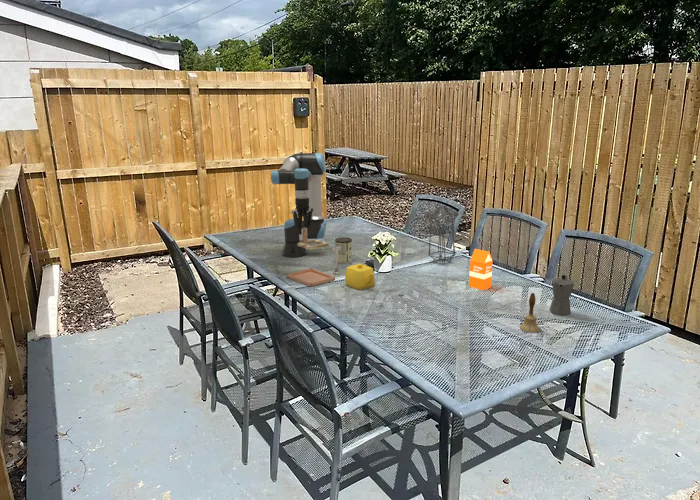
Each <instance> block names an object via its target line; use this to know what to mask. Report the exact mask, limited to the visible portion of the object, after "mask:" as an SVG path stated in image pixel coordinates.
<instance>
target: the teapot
mask: <svg viewBox="0 0 700 500" xmlns="http://www.w3.org/2000/svg"><path fill="white" fill-rule="evenodd" d="M344 277H345V278H344V280H345V285H347V286H348V287H350V288H352V289H355V290H359V291H361V290H365V289H369V288H372V287H374V286H375V284H376V278H375V272H374V268H373V267H371V266H370V265H369V266H368V265H366V264H363V263H357V264H353V265H352V264H351V265H348V266H347V267H346V270H345V276H344Z"/></svg>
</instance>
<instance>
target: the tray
mask: <svg viewBox="0 0 700 500" xmlns="http://www.w3.org/2000/svg"><path fill="white" fill-rule="evenodd" d="M287 278H288V279H290V280H292V281H295V282H297V283H300V284H302V285H304V286H307V285H308V287H310V288H311V287H312V288H313V287H315V286H319V285H323V284H327V283H330V282H333V281H335V280H336V277H335V276H334V275H331V274H328V273H326V272H323V271H319V270H317V269H314V268H312V267H311V268H307V269H303V270H298V271H296V272H295V271H294V272H291V273H287Z"/></svg>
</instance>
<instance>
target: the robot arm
mask: <svg viewBox="0 0 700 500" xmlns="http://www.w3.org/2000/svg"><path fill="white" fill-rule="evenodd" d="M326 171H327V170H326V162H325V156H324V154H323V153H322V152H320V153H318V152H309V153H306V152H297V153H295V154H291V155H289V156H288V157H286V158H285V159H284V161H283V165H282V166H281V167H280V168H279V170H277V169H276V170H271V173H270V181H271V183H272V184H273V185H294V197H295V198H294V201H295V209H294V210H292V211H291V214H292V217H293V218H290V219H287V220H285V221H284V226H283V227H284V228H283V229H284V245H283V250H282V256H284V257H287V258H299V257H304V256H305V255H307V250H306V248H303V247H300V246H297V243H299V240H302V241H303V230H305V231H307V235H308V240H319V239H320V240H322V239H324V238H325V236H326V231H327V230H326V229H327V220H325V218H324V216H323V215H322V177H323V176H324V173H326Z"/></svg>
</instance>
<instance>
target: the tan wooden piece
mask: <svg viewBox="0 0 700 500" xmlns="http://www.w3.org/2000/svg"><path fill="white" fill-rule="evenodd" d="M311 244H314V245H311ZM297 246H300V247H303V248H305V249H307V250H309V251H312V250H316V249H321V248H326V247H329V243H328V242H325V241H322V240H319V239H308V235H307V231H305V230H303V241H302V240H299V243H297Z"/></svg>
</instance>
